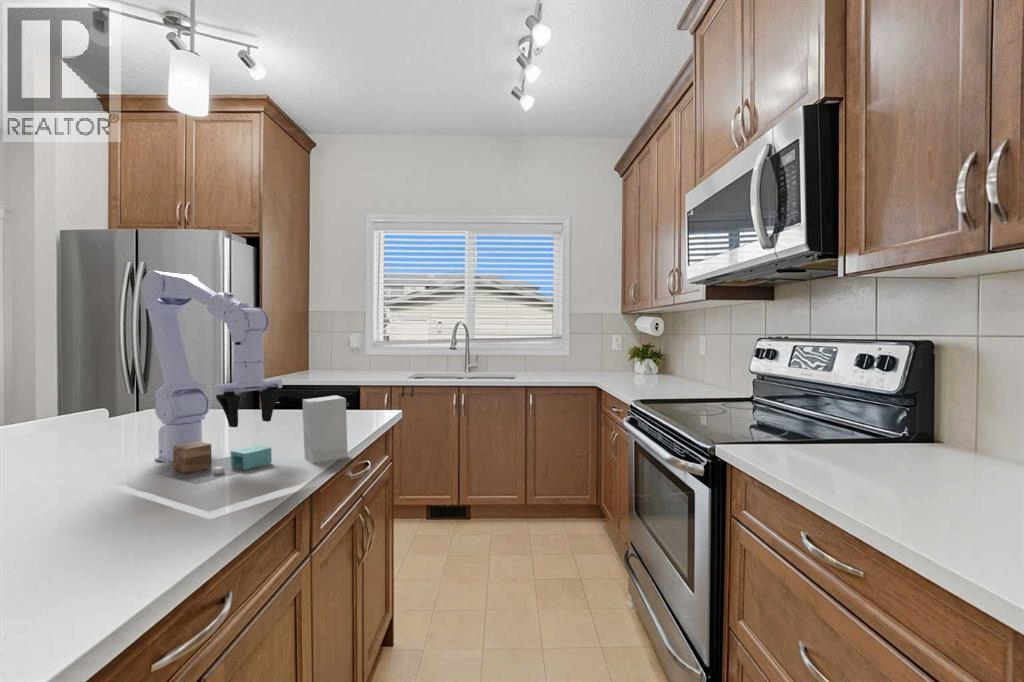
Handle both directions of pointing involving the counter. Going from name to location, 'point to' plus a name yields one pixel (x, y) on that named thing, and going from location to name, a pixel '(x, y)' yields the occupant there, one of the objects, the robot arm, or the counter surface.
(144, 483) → the counter surface
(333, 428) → the skincare box
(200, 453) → the jaw block
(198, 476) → the slate board
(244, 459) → the housing cover
